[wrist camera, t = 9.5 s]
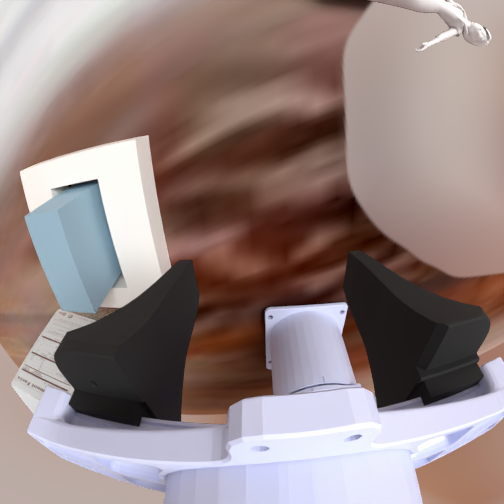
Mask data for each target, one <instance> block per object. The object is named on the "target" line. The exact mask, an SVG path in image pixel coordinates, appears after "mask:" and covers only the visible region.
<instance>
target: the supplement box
mask: <svg viewBox="0 0 504 504" xmlns="http://www.w3.org/2000/svg"><path fill="white" fill-rule="evenodd" d="M95 321H97V320H93V319H90V318H87V317H84V316H81V315H78V314H75V313H72V312H69V311H62V309H58V310H57V311H56V313H55V314H54V315H53V317H52V318H51V320H50V321H49V323H48V324H47V326H46V327H45V328H44V330H43V331H42V333H41V334H40V336H39V337H38V339H37V341H36V342H35V344H34V345H33V347H32V348H31V350H30V352H29V353H28V355H27V357H26V358H25V360H24V362H23V363H22V365H21V367H20V368H19V370H18V372H17V374H16V376H15V377H14V379H13V381H12V383H11V386H12V387H13V388H14V390H15V391H16V392H17V394H18V395H19V396H20V398H21V399H22V400H23V401H24V403H25V404H26V405H27V406H28V408H29V409H30V410H31V411H32V413H33V414H34V413H35V411H36V408H37V406H38V404H39V402H40V400H41V397H42V395H43V393H44V391H45V389H46V387H47V386H49V387H52V388H56V389H59V390H63V391H65V392H68V393H69V394H71V395H72V394H73V392H74V388H73V387H72V386H71V384H70V383H69V382H68V381H67V380H66V378H65V377H64V376H63V374H62V373H61V372H60V371H59V369H58V367H57V366H56V363H55V360H54V353H55V352H56V350H57V348H58V346H59V345H60V343H61V341H62V339H63V338H64V336H65V334H66V333H67V332H68V331H72V330H74V329H77V328H80V327H83V326H86V325H88V324H91V323H93V322H95Z"/></svg>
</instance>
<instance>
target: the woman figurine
mask: <svg viewBox="0 0 504 504" xmlns="http://www.w3.org/2000/svg"><path fill="white" fill-rule="evenodd" d="M369 1H373V2H379V3H384V4H389V5H393V6H397V7H402V8H405V9H409V10H413V11H417V12H423V13H437V14H439V15H440V16H441V17H442V18H443V20H444V21H445V23H446V24H447V25H448V26H449V28H450V29H448V30H447V31H445V32H442V33H440V34H439V35H438V36H436V37H435V38H434V39H432V40H431V41H429V42H427V43H426V42H425V43H422V46H421V47H419V48H415V49H417V50H416V52H419V51H422V50H424V49H426V48H428V47H430V46H432V45H434V44H436V43H438V42H441V41H444V40H446V39H448V38H450V37H452V36H459V35H460V33H461V32H462V30H463V37H464V39H465V40H466V41H467V42H469V43H471V44H473V45H476V46H487V45H488V43H489V41H490V40H491V35H490V33H489V31H488V30H487V29H486V28H485V27H483V26H481V25H479V24H478V23H472V22H469V21H468V20H467V17H466V13H465V11H464V10H463V9H462V7H461V5H459V4H457V3H454V2H453V1H452V0H445V1H443V0H369ZM455 4H456V5H457V6H456V5H455ZM461 9H462V10H461ZM462 11H463V13H462Z"/></svg>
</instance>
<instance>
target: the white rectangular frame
mask: <svg viewBox="0 0 504 504" xmlns="http://www.w3.org/2000/svg"><path fill="white" fill-rule="evenodd" d="M20 174H21V179H22V184H23V188H24V192H25V196H26V200H27V204H28V207H29V211H30V212H32V211H33V210H35V209H36V208H38V207H39V206H41V205H42V204H44V203H45V202H47V201H48V200H50V199H51V198H53V197H55V196H56V195H58V194H59V193H61V192H63V191H64V190H66V189H68V188H69V187H68V185H71V184H75V183H80V182H85V181H89V180H95V179H98V183H99V187H100V192H101V197H102V201H103V205H104V210H105V214H106V218H107V222H108V225H109V229H110V233H111V237H112V240H113V244H114V247H115V250H116V254H117V257H118V260H119V264H120V267H121V270H122V272H121V274H120V275H119V277H118V278H117V280H116V281H115V283H114V284H113V286H112V288H111V289H110V291H109V292H108V294H107V296H106V297H105V299H104V300H103V302H102V304H101V305H100V307H111V308H122V307H123V306H125V305H126V304H128V303H129V302H131V301H132V300H134V299H135V298H136V297H138V296H139V295H140V294H142V293H143V292H144V291H145V290H146V289H148V288H149V287H150V286H151V285H152V284H154V283H155V282H156V281H157V280H158V279H159V278H160V277H161V276H162V275H164V274H165V273H166V272H167V271H168V270H169V269H170V268H171V264H170V259H169V255H168V250H167V245H166V241H165V236H164V231H163V226H162V221H161V215H160V210H159V204H158V199H157V193H156V187H155V181H154V174H153V167H152V160H151V153H150V145H149V137H148V135H147V136H141V137H136V138H131V139H126V140H121V141H117V142H112V143H108V144H103V145H99V146H95V147H91V148H87V149H84V150H80V151H76V152H73V153H69V154H66V155H62V156H59V157H56V158H53V159H50V160H47V161H44V162H41V163H38V164H35V165H33V166H31V167H29V168H26V169H24V170H22V171H20Z"/></svg>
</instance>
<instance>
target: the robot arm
mask: <svg viewBox="0 0 504 504" xmlns="http://www.w3.org/2000/svg"><path fill="white" fill-rule="evenodd" d="M343 288H344V292H345V296H346V299H347V303H348V306H349V308H350V311H351V313H352V315H353V318H354V320H355V322H356V325H357V327H358V330H359V332H360V334H361V337H362V339H363V342H364V345H365V348H366V352H367V356H368V360H369V364H370V368H371V373H372V378H373V383H374V389H375V395H374V394H373V393H372V392H370V391H368V390H366V389H364V388H362V387H361V385H360V384H356V381H355V377H354V374H353V371H352V367H351V364H350V361H349V357H348V354H347V351H346V348H345V345H344V341H343V338H342V330H343V326H344V322H345V317H346V313H347V308H348V306H347V304H346V303H345V302H340V303H328V304H315V305H300V306H284V307H269V308H266V310H265V336H266V368H267V369H269V370H272V383H273V395H266V396H257V397H251V398H245V399H243V400H241V401H239V402H237V403H235V404H233V405H231V406H230V407H229V410H228V413H227V424H204V423H188V422H181V404H182V388H183V377H184V368H185V360H186V355H187V350H188V346H189V342H190V338H191V334H192V331H193V327H194V323H195V319H196V315H197V310H198V302H199V292H198V287H197V282H196V277H195V272H194V267H193V262H192V260H179V261H178V262H177V263H176V264H174V265H173V266H172V267H171V268H170V269H169V270H168V271H167V272H166V273H165V274H164V275H162V276H161V277H160V278H159V279H158V280H157V281H156V282H155V283H154V284H152V285H151V286H150V287H149V288H148V289H146V290H145V291H144V292H143V293H142V294H140V295H139V296H138V297H136V298H135V299H134V300H132V301H131V302H129V303H128V304H126V305H125V306H123V307H122V308H120V309H118V310H116V311H115V312H113V313H111V314H109V315H108V316H106V317H104V318H102V319H100V320H97V321H95V322H93V323H91V324H88V325H86V326H83V327H80V328H77V329H74V330H72V331H68V332H67V333H66V334H65V336H64V338H63V339H62V341H61V343H60V345H59V346H58V348H57V350H56V352H55V353H54V360H55V363H56V366H57V367H58V369H59V371H60V372H61V373H62V374H63V376H64V377H65V378H66V380H67V381H68V382H69V383H70V384H71V386H72V387H73V388H74V392H73V394H72V395H71V394H69V393H68V392H65V391H63V390H59V389H56V388H52V387H49V386H47V387H46V389H45V391H44V393H43V395H42V397H41V400H40V402H39V404H38V406H37V408H36V411H35V413H34V415H33V418H32V420H31V423H30V425H29V428H28V430H27V432H28V433H29V434H30V435H31V436H32V437H34V438H35V439H36V440H37V441H39V442H40V443H41V444H43V445H44V446H45V447H47V448H48V449H49V450H51V451H52V452H54V453H55V454H56V455H58V456H59V457H61V458H63V459H65V460H67V461H70V462H72V463H75V464H77V465H80V466H82V467H84V468H87V469H90V470H92V471H95V472H98V473H100V474H103V475H106V476H109V477H112V478H115V479H118V480H121V481H124V482H127V483H131V484H134V485H137V486H141V487H145V488H149V489H153V490H157V491H161V492H165V499H164V504H423V503H422V498H421V493H420V489H419V485H418V480H417V477H416V473H415V469H416V468H418V467H421V466H423V465H425V464H427V463H429V462H432V461H434V460H436V459H438V458H440V457H442V456H444V455H446V454H448V453H450V452H452V451H454V450H455V449H457V448H459V447H461V446H463V445H464V444H466V443H468V442H470V441H472V440H473V439H475V438H477V437H478V436H480V435H482V434H483V433H485V432H487V431H488V430H490V429H491V428H493V427H494V426H495V425H496V424H497V423H498V422H499V421H500V420H502V419H503V418H504V362H503V361H502V359H501V357H499V358H496V359H494V360H492V361H490V362H487V363H486V364H484V365H483V366H481V368H479V366H478V364H477V362H478V361H479V357H478V355H477V351H478V349H479V348H480V346H481V345H482V343H483V341H484V340H485V338H486V336H487V334H488V332H489V328H490V319H489V318H488V316H487V315H486V314H485V312H484V311H483V310H482V308H481V307H479V306H474V305H469V304H465V303H460V302H457V301H454V300H450V299H447V298H444V297H441V296H439V295H436V294H434V293H431V292H429V291H427V290H425V289H422V288H420V287H418V286H416V285H414V284H412V283H411V282H409V281H407V280H405V279H404V278H402V277H400V276H399V275H397V274H396V273H394V272H392V271H391V270H389V269H388V268H386V267H385V266H383V265H382V264H380V263H379V262H377V261H376V260H375V259H373V258H372V257H370V256H368V255H367V254H365V253H364V252H362V251H348V258H347V266H346V273H345V280H344V286H343ZM342 310H343V311H342ZM340 311H342V312H340ZM270 315H271V317H269V316H270Z"/></svg>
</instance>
